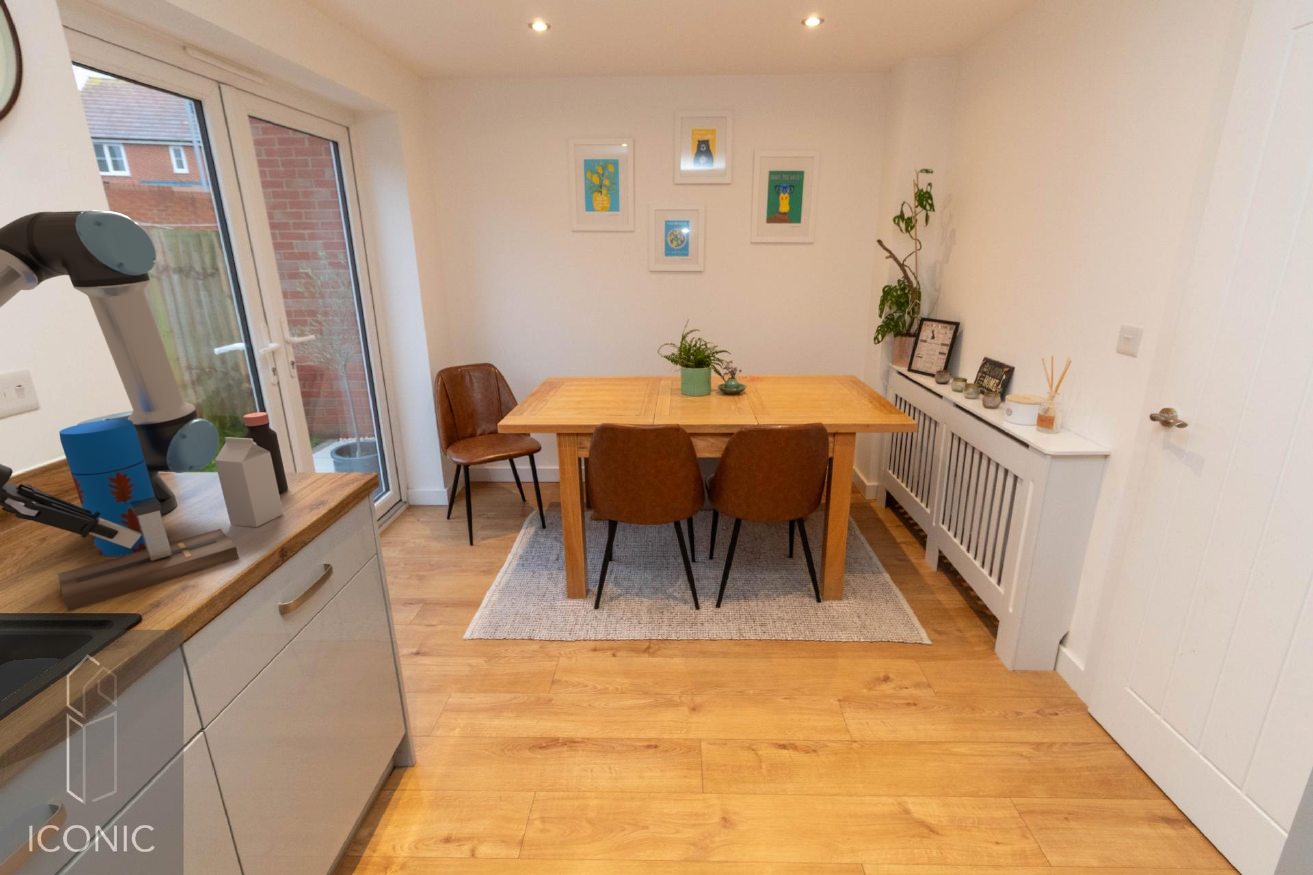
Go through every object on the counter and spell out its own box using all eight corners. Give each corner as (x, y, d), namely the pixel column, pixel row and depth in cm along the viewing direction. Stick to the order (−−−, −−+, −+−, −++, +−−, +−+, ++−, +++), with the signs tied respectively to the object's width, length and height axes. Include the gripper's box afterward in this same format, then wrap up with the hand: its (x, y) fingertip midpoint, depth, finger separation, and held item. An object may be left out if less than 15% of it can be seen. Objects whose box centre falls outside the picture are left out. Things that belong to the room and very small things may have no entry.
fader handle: (145, 553, 110) (129, 502, 107) (169, 547, 112) (155, 496, 109) (149, 561, 107) (133, 509, 104) (174, 554, 109) (159, 502, 106)
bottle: (277, 497, 143) (260, 418, 137) (249, 497, 143) (231, 418, 138) (294, 487, 150) (278, 411, 144) (267, 487, 150) (250, 411, 144)
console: (62, 586, 105) (57, 573, 104) (223, 539, 122) (220, 528, 121) (67, 611, 97) (63, 597, 96) (238, 558, 114) (235, 546, 113)
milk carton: (257, 527, 127) (237, 443, 121) (230, 525, 128) (209, 442, 123) (284, 514, 134) (266, 434, 128) (258, 512, 135) (239, 432, 130)
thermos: (108, 561, 113) (68, 437, 106) (88, 548, 119) (49, 429, 111) (175, 539, 122) (142, 423, 115) (154, 528, 128) (121, 416, 120)
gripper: (-55, 489, 93) (115, 547, 109) (-61, 511, 84) (125, 571, 101) (-17, 449, 95) (144, 512, 111) (-18, 467, 86) (156, 532, 103)
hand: (135, 540), depth 106 cm, fingers closed
